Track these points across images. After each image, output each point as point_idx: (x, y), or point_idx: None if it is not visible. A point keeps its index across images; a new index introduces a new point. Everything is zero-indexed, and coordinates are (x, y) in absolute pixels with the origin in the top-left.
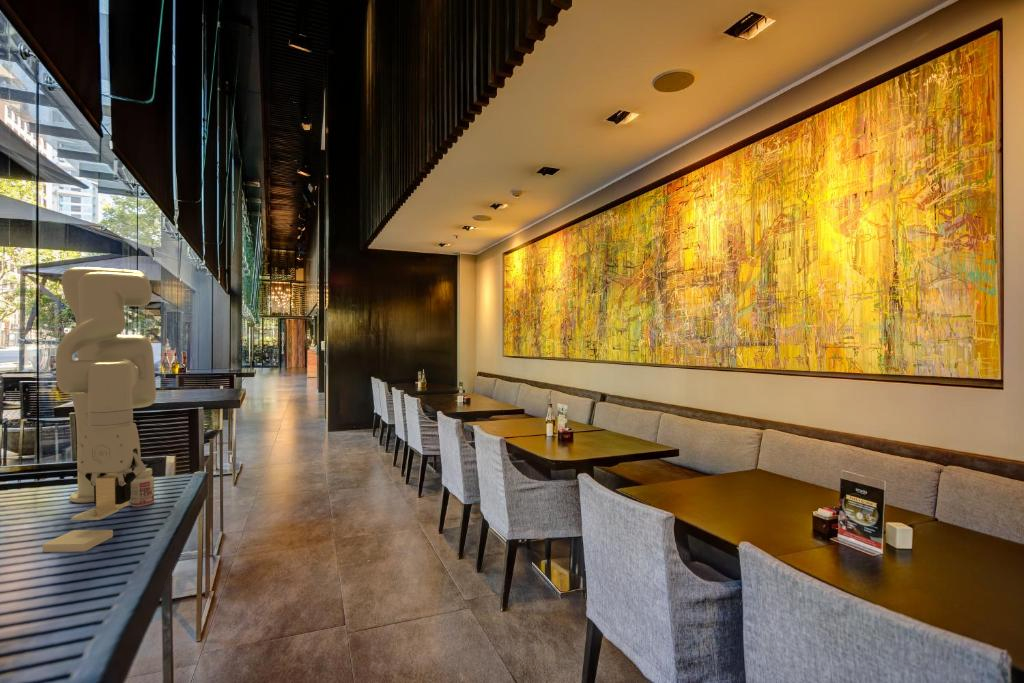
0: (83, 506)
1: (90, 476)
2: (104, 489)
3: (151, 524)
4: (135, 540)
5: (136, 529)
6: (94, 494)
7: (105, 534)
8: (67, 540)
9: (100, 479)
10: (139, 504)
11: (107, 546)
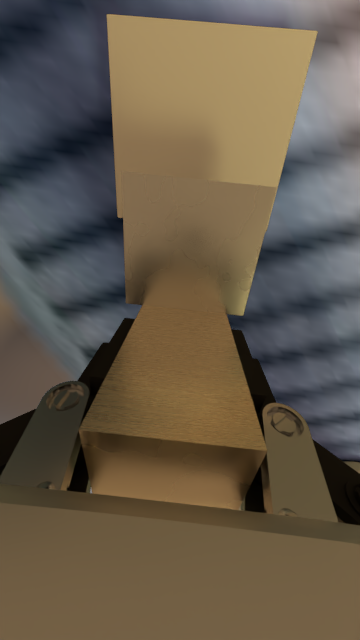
0: (344, 445)
1: (342, 493)
2: (185, 366)
3: (84, 309)
4: (13, 163)
5: (97, 275)
6: (251, 358)
7: (116, 175)
8: (221, 86)
9: (217, 433)
10: None
11: (66, 100)
